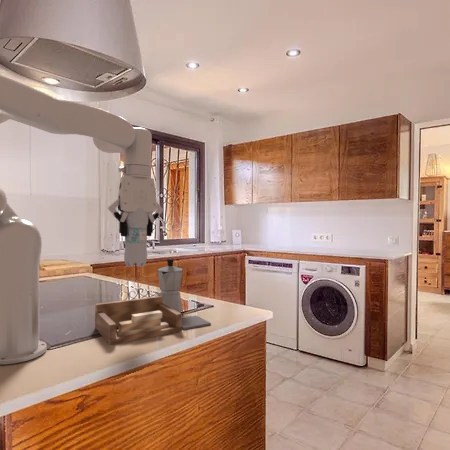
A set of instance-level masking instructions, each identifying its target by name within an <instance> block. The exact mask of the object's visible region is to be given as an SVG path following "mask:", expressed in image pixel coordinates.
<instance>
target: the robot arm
mask: <svg viewBox="0 0 450 450" xmlns="http://www.w3.org/2000/svg"><path fill="white" fill-rule="evenodd" d="M9 120H11V121H14V122H17V123H21V124H24V125H26V126H30V127H33V128H36V129H38V130H41V131H44V132H47V133H49V134H55V135H77V136H78V135H80V136H86V137H89V138H92V142H93V144H94V146H95V147H96V148H97V149H98V151H101V152H103V153H106V154H107V153H108V154H123V166H119V167H118V172H119V173H122V176H121V178H120V181H119V185H118V195H117V199H116V200H115V201H113V202H112V203H111V204H110V205H109V206H107V209H108V211H109V212H110V213H111V214H112V216H113V217H114V218H115V219H116V220H117V221H118V224H119V225H118V232H119V234H120V236H121V237H125V236H127V222H125V219H126V217H127V215H128V213H129V212H135V211H136V210H137V208H143V209H144V212H146V213H148V218H149V219H148V225H147V237H152V234H153V233H154V223H155V221H156V220H158V218H159V216H160V215H161V214H162V213H163V212H164V208H163V207H162V206H161V205H160V204H159V203H158V202H157V192H156V184H155V179H154V178H153V177H152V147H153V146H152V145H153V144H152V143H153V142H152V141H153V139H152V137H153V136H152V135H153V134H152V133H151V131H150V130H149V129H147V128H144V127H136V126H135V127H134V126H133V125H132V124H131V122H130V121H129V120H127V119H125V118H123V117H122V116H120V115H117V114H115V113H112V112H110V111H108V110H105V109H103V108H99V107H96V106H93V105H88V104H83V103H79V102H74V101H70V100H64V99H61V98H59V97H57V96H54V95H50V94H48V93H46V92H43V91H41V90H40V89H39V90H38V89H37V88H34V87H32V86H29V85H26V84H24V83H22V82H19V81H17V80H14V79H12V78H10V77H6V76H3V75H0V124H3V123H5V122H7V121H9ZM7 200H8V198H7V195H6V193H5V191H4V190H3V188H2V187H1V186H0V365H13V364H14V365H15V364H21V363H24V362H28V361H31V360H33V359H36V358H39V357H40V356H42V355H43V354H44V353H45V352H47V349H48V348H47V347H48V345H47V343H46V342H45V341H43V340H40V266H41V264H40V263H41V254H42V246H43V245H42V242H43V241H42V237H41V234H40V231H39V229H38V227H37V226H36V225H35V224H34V223H32V222H31V221H29V220H28V219H24V218H21V217H19V215H18V214H17V212H15V211H14V209H13V208H12V207H11V205H10V204H9V203H8V201H7ZM116 208H117V209H116ZM117 210H118V211H119V212H120V213H119V212H118V211H117Z"/></svg>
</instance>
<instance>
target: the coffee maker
mask: <svg viewBox="0 0 450 450" xmlns="http://www.w3.org/2000/svg"><path fill="white" fill-rule="evenodd" d="M166 262H167V266H163V267H160V268H158V269H157V277H158V285H159V290H160V292H159V295H158V296H162V303H163V304H165V305H167V306H169V307H170V308H172V309H174V310H176V311H178V312H179V313H180V312H181V311H183V306H182V305H183V304H182V299H181V298H182V297H181V292H180V289H181V284H182V276H183V268H182V267H180V266H179V265H177V266H176V265H175V266H174V258H167V259H166ZM183 312H184V311H183Z"/></svg>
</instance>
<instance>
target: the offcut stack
mask: <svg viewBox="0 0 450 450" xmlns="http://www.w3.org/2000/svg"><path fill="white" fill-rule="evenodd" d="M161 318H162V312H161V311H152V312H145V313H139V314H132V320H130V321H123V322H119V326H118V329H116V337H121V336H126V335H132V334H137V333H143V332H149V331H154V330H160V329H165V328H169V324H168V323H166V322H161Z"/></svg>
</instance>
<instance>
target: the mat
mask: <svg viewBox="0 0 450 450" xmlns="http://www.w3.org/2000/svg"><path fill="white" fill-rule="evenodd" d="M211 324H212V323H211V322H210V321H208V320H207V319H204V318H202V317H200V316H198V315H190V316H185V317H182V330H183V331H185V330H190V329H191V330H192V329H196V328H201V327H206V326H207V327H208V326H211Z"/></svg>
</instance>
